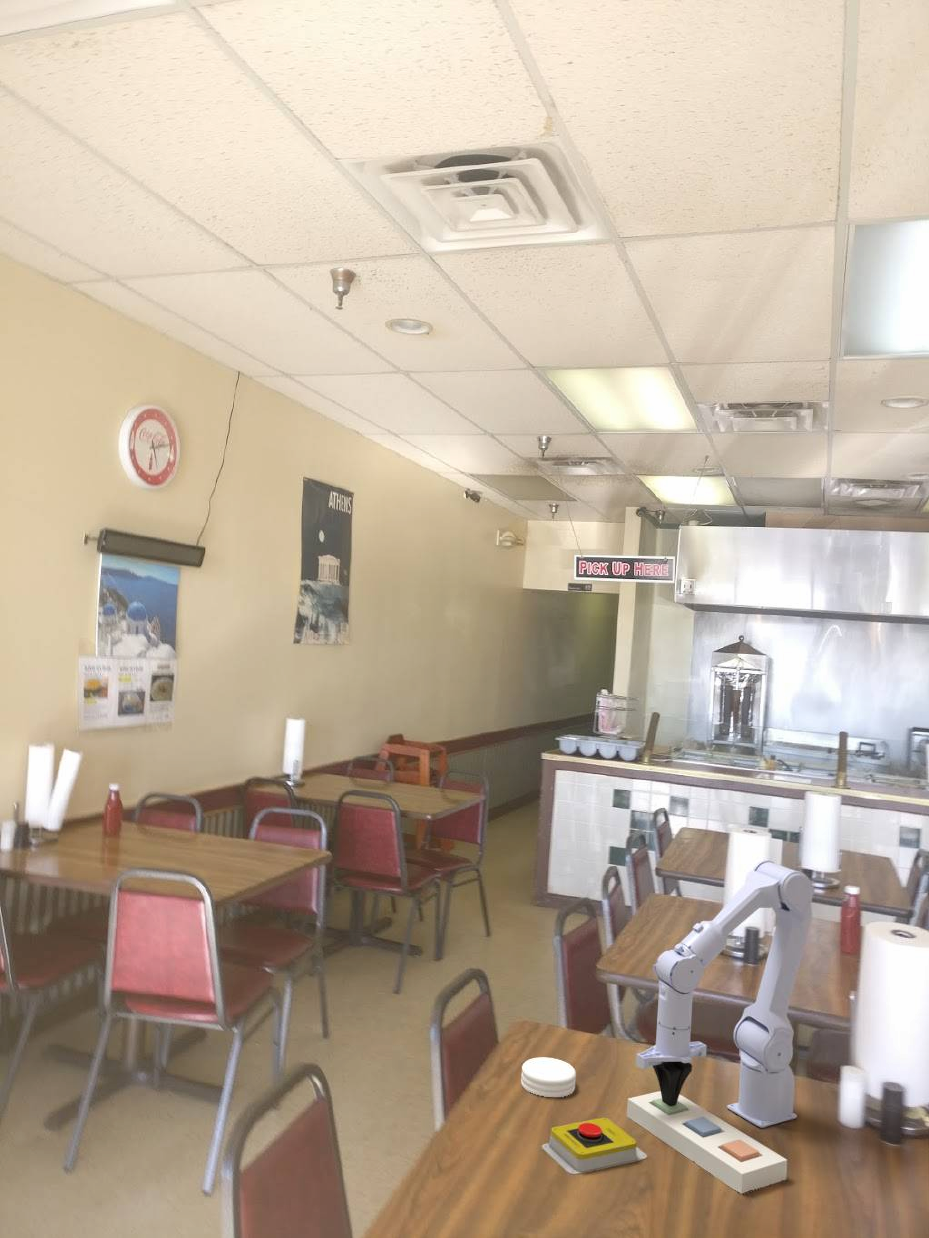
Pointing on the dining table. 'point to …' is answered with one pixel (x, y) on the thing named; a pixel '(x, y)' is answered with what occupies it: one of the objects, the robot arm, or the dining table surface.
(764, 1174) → the button panel
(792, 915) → the robot arm
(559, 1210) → the dining table surface
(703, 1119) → the slate-blue button
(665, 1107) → the sage-green button
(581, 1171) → the emergency button
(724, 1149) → the terracotta button
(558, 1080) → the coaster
